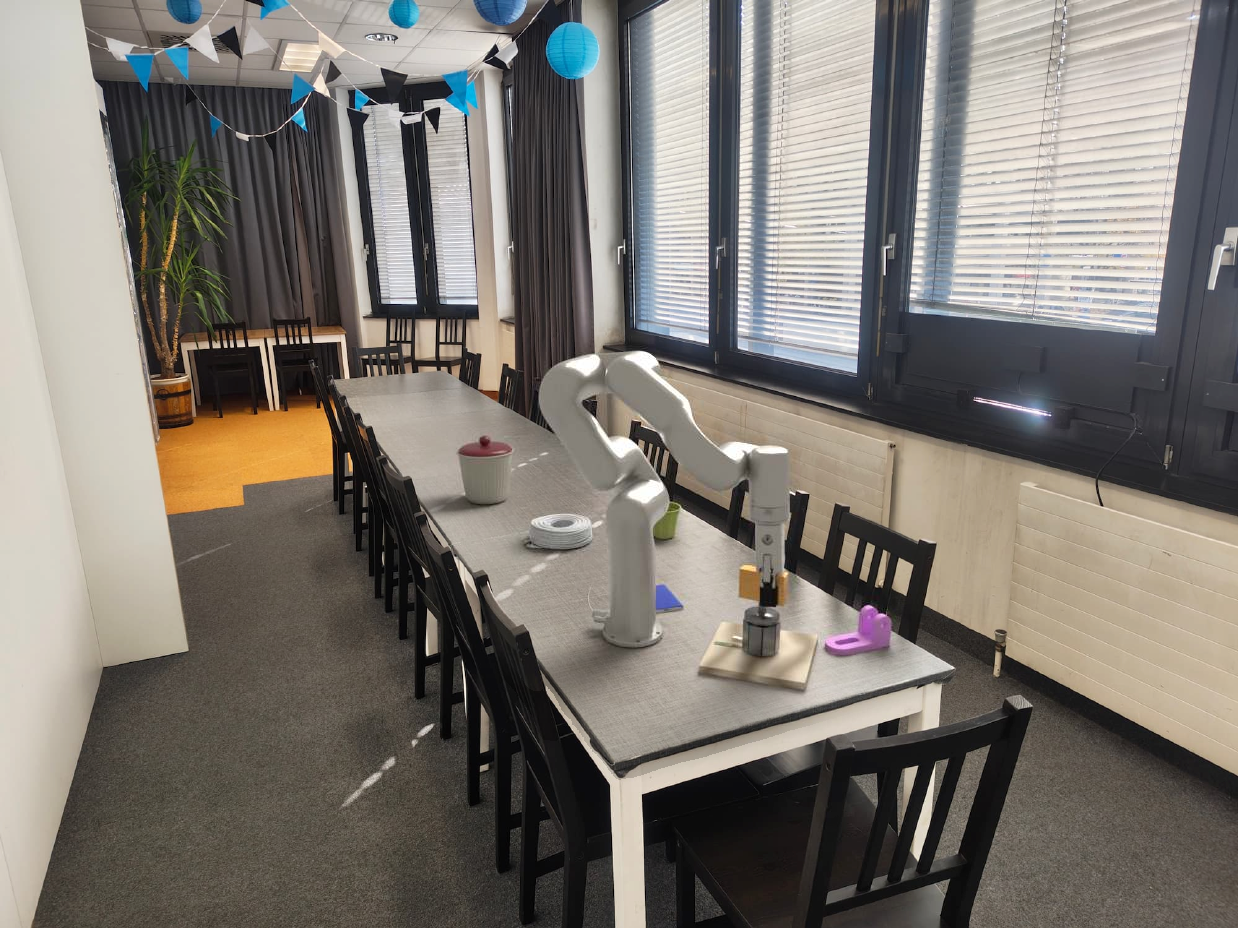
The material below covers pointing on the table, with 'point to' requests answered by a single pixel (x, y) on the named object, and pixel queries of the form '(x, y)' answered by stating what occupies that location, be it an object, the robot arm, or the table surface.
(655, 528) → the plant pot
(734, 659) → the post plate
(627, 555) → the robot arm
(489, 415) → the table surface
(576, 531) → the cable
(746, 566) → the motor
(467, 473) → the canister
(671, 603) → the hard drive
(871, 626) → the bracket
